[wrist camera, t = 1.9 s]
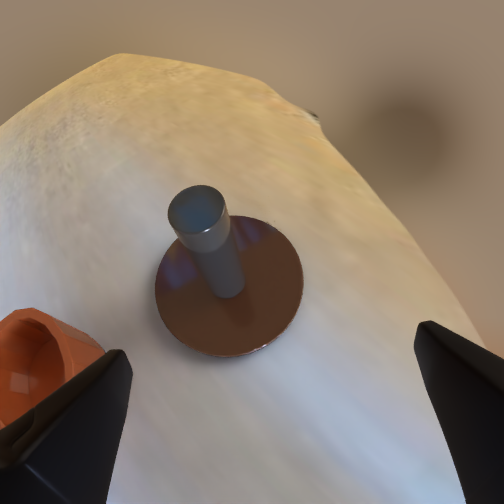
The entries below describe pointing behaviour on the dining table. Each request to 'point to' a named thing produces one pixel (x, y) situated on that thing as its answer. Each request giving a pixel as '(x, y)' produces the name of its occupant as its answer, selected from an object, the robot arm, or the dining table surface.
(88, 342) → the crock
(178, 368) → the dining table surface
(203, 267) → the brown disc with post
